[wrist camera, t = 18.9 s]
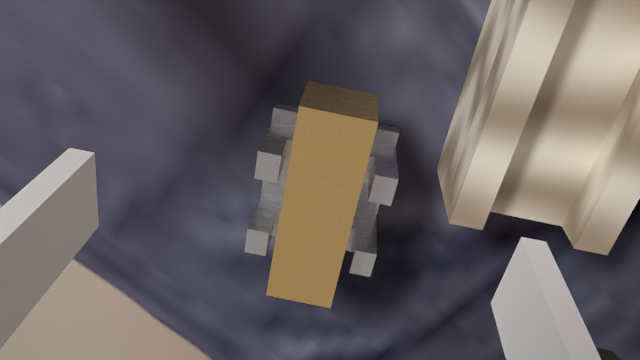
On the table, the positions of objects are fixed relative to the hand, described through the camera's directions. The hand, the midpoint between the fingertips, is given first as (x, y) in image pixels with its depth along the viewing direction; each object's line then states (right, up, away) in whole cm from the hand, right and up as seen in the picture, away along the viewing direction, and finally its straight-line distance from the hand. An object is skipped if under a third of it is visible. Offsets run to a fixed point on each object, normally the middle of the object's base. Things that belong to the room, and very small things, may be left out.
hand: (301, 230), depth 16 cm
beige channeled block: (+15, +8, +19) cm, 26 cm away
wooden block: (+1, +1, +20) cm, 20 cm away
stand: (+1, +2, +24) cm, 24 cm away
